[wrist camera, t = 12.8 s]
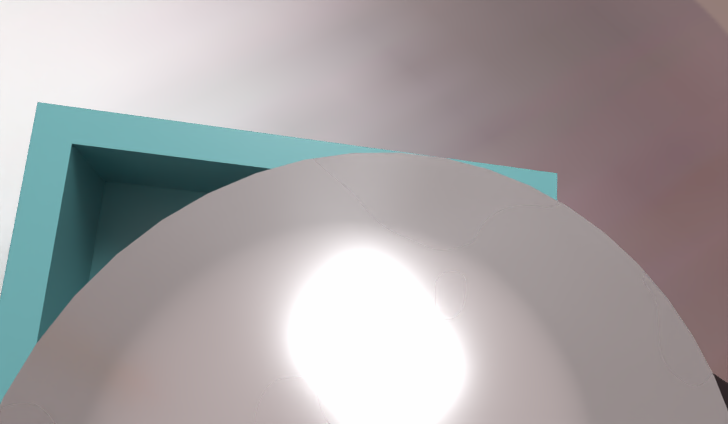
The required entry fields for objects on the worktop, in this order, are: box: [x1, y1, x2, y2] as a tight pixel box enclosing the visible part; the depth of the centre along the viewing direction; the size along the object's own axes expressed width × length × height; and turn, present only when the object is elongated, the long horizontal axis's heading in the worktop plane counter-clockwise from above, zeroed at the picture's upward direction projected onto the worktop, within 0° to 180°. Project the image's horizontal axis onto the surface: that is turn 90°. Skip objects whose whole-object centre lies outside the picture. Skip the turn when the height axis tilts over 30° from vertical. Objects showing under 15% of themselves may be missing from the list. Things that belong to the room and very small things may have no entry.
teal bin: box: [0, 102, 557, 404], centre depth 15 cm, size 12×12×4 cm
